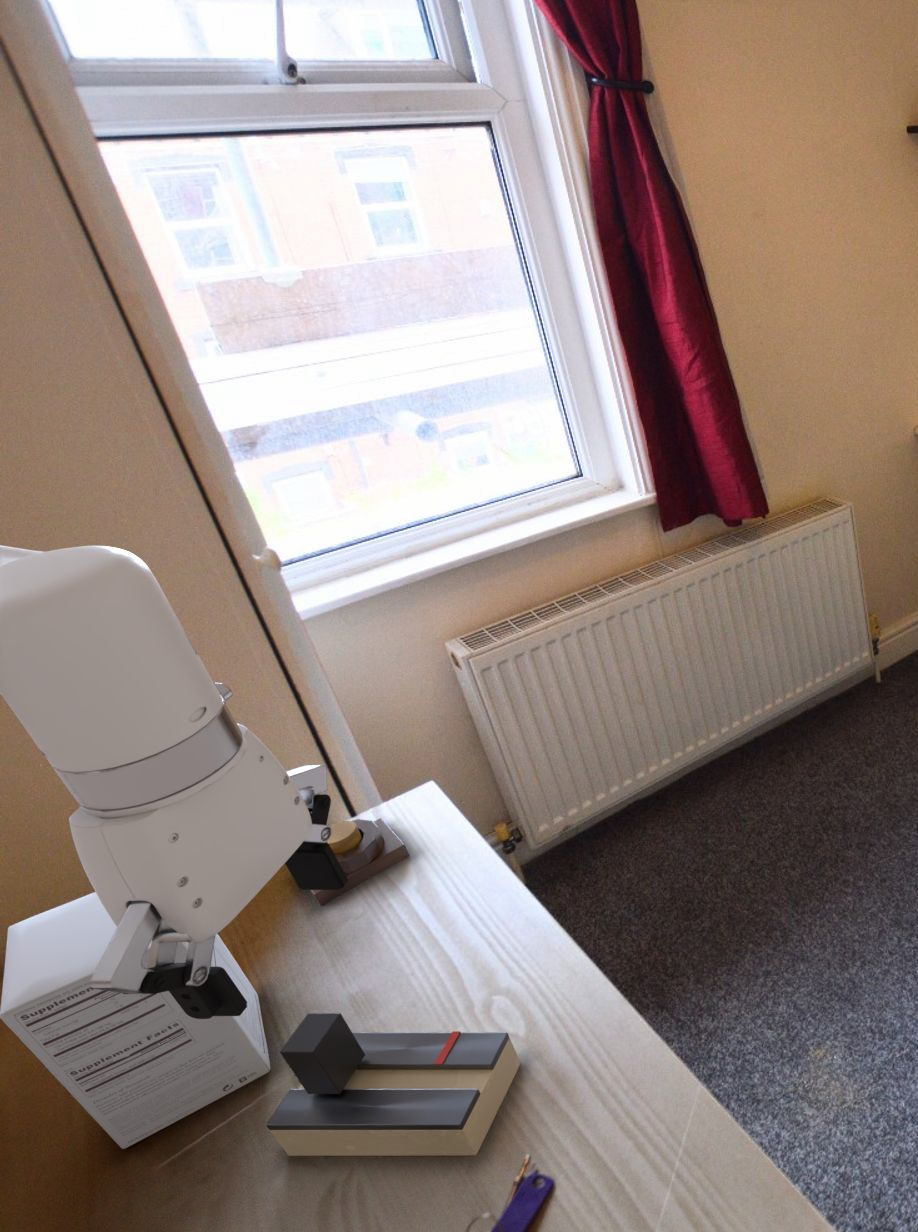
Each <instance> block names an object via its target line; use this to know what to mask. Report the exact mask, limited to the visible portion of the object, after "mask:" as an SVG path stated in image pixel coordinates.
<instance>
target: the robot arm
mask: <svg viewBox="0 0 918 1232" xmlns="http://www.w3.org/2000/svg"><path fill="white" fill-rule="evenodd" d="M154 575H155V574H153V572H152V570H151V568H150V567H149V566H148V565H147V563H146V562H145V561H143V559H141V558H140V557H138V555H135V553H132V552H131V551H128V550H125V549H123V548H118V547H115V546H107V545H83V546H72V547H65V548H58V549H51V550H47V551H41V550H33V549H32V550H31V549H27V548H19V547H15V546H14V547H13V546H9V545H8V546H7V545H1V544H0V696H1V697H2V699H3V700H4V701H5V703H6V704H7V705H8V706H9V708H10V709H11V711H12V713H14V715H15V717H16V718H17V719H18V720H19V722H20V724H21V725H22V727H23V728H24V729H25V731H26V732H27V734H28V735H29V737H30V738H31V739H32V741H33V743H34V744H35V745H36V746H37V748H38V749H39V751H41V753H42V755H43V756H44V758H45V759H46V760H47V762H48V763H49V764H50V766H51V768H52V769H53V770H54V772H55V773H56V774H57V776H58V777H59V779H60V781H61V782H62V783H63V784H64V786H65V787H66V789H67V790H68V791H69V793H70V794H71V795H72V796H73V798H74V800H75V801H76V802H77V803H78V805H79V807H78V808H77V809H76V810H75V811H74V812H73V813H72V814H71V815H70V816H69V818H68V822H69V828H70V833H71V837H72V840H73V843H74V847H75V850H76V853H77V856H78V858H79V861H80V864H81V866H82V868H83V871H84V873H85V875H86V876H87V878H88V881H89V882H90V885H91V886H92V888H93V890H94V892H96V894H97V896H98V897H99V899H100V901H101V903H102V904H103V906H104V908H105V909H106V911H107V913H108V914H109V916H110V917H111V919H112V920H113V922H114V923H115V925H116V926H117V929H116V931H115V933H114V935H113V937H112V939H111V941H110V942H109V944H108V946H107V948H106V950H105V952H104V954H103V956H102V958H101V960H100V962H99V964H98V965H97V967H96V969H95V971H94V973H93V975H92V977H91V980H90V986H91V988H94V989H99V990H105V991H112V992H121V993H123V994H157V993H161V992H166V991H169V992H170V993H171V995H172V996H173V997H174V999H175V1000H176V1001H177V1003H178V1004H179V1005H180V1007H181V1008H182V1009H183V1011H184V1012H185V1013H186V1014H187V1015H188V1016H190V1017H192V1018H196V1019H209V1018H211V1017H212V1016H240V1015H241V1014H242V1013H243V1011H244V1010H245V1009H246V1008H247V1001H246V999H245V998H244V997H243V995H242V994H241V992H240V991H239V989H238V988H237V987H236V985H235V984H234V982H233V981H232V979H231V978H230V976H229V975H228V974H227V972H226V971H225V969H224V968H222V967H211V961H212V955H213V949H214V942H215V936H216V934H219V933H220V932H221V931H223V929H225V928H226V927H227V926H228V925H229V924H230V923H231V922H232V921H233V920H234V919H235V918H236V917H237V916H238V915H239V914H240V913H241V912H242V910H244V908H246V906H247V905H248V904H249V903H250V902H251V901H252V900H253V899H254V898H255V897H256V896H257V895H258V894H259V892H260V891H261V890H262V889H263V888H264V887H265V886H266V885H267V884H268V882H269V881H271V879H272V878H273V877H274V876H275V875H276V874H277V873H278V871H280V869H281V868H282V867H283V866H284V865H285V866H286V868H287V869H288V871H289V873H290V875H291V876H292V878H293V881H294V882H295V884H296V885H297V887H298V888H299V889H300V890H302V891H309V890H339V889H342V888H343V887H344V886H345V885H346V884H347V882H348V878H347V877H346V875H345V873H344V871H343V869H342V867H341V865H340V864H339V862H338V860H337V858H336V856H335V854H334V852H333V851H332V849H331V847H330V845H329V844H328V841H329V840H330V838H331V836H332V833H333V830H332V827H331V825H329V824H328V818H329V813H330V810H331V809H330V808H331V804H332V798H331V795H329V794H327V792H328V791H329V789H328V785H329V784H328V769H327V766H326V765H324V764H306V765H302V766H299V767H296V768H293V769H290V770H286V769H285V767H283V765H282V764H281V762H280V761H279V760H278V759H277V757H276V756H275V755H274V754H273V753H272V752H271V750H270V749H269V748H268V747H267V746H266V744H265V743H263V741H262V740H261V739H260V738H259V737H258V736H257V735H256V734H255V733H254V732H252V731H251V730H250V729H249V728H248V727H247V726H245V725H244V724H240V723H237V721H236V720H235V718H234V716H233V714H232V712H231V710H230V708H229V707H228V705H227V702H228V701H229V700H230V699H231V698H232V697H233V691H232V689H231V688H230V687H229V686H228V685H226V684H225V683H223V682H214V681H213V679H212V677H211V675H210V673H209V671H208V670H207V668H206V666H205V664H204V662H203V660H202V659H201V657H200V655H199V654H198V651H197V650H196V648H195V647H194V645H193V643H192V641H191V640H190V638H189V635H188V634H187V632H186V630H185V629H184V627H183V625H182V623H181V622H180V620H179V618H178V616H177V614H176V612H175V611H174V608H173V607H172V606H171V604H170V601H169V600H168V598H167V596H166V594H165V592H164V591H163V589H162V587H161V585H160V584H159V582H158V580H157V579H156V577H155V576H154ZM151 940H152V943H151V949H150V955H149V961H148V967H147V968H144V967H143V966H142V959H143V956H144V954H145V952H146V950H147V948H148V946H149V944H150V942H151ZM178 942H189V944H188V950H187V957H186V963H175V958H176V952H177V946H178Z"/></svg>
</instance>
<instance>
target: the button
mask: <svg viewBox="0 0 918 1232" xmlns="http://www.w3.org/2000/svg"><path fill="white" fill-rule="evenodd" d="M352 821H353V820H343V821H339V822H335V823H333V824H331V825H330V826H331V827H332V830H333V833H332V836H331V838H330V840H329V841H328V844H329V845H330V847H331V849H332V851H333V852H334V854H335V855H338V854H342V853H345V852H347V851H349V850H351V849H353V848H355V847H356V846H357V845H358V844H359V843H360V842H361V840H362V836H361V834H360V832H359V830H358V828H357V826H356V824H355V823H354V822H352Z"/></svg>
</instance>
